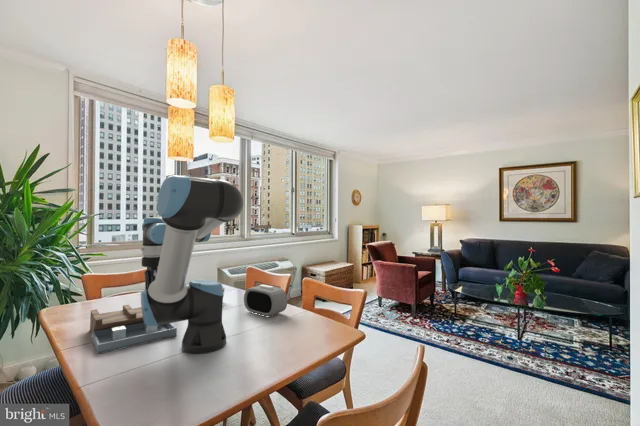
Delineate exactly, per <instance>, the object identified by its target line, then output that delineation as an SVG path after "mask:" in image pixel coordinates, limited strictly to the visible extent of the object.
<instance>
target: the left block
mask: <svg viewBox="0 0 640 426" xmlns="http://www.w3.org/2000/svg"><path fill="white" fill-rule="evenodd" d="M125 338H126V328H125V326H119V327H113V328H111V340H112V341H116V340H120V339H125Z"/></svg>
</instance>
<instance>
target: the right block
mask: <svg viewBox="0 0 640 426" xmlns="http://www.w3.org/2000/svg"><path fill="white" fill-rule="evenodd" d="M157 327H158V326H157V325H156V326H146V325H145V324H144V327H143V332H144V333H145V334H149V333H153V332H157Z"/></svg>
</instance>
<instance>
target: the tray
mask: <svg viewBox="0 0 640 426" xmlns="http://www.w3.org/2000/svg"><path fill="white" fill-rule="evenodd" d="M124 326H125V328H126V338H125V339H120V340H116V341H112V340H111V328H108V329H102V330H97V331H92V334H91V341H92V344H93V346H94V348H95V351H96V353H97V354H103V353H107V352H112V351H116V350H120V349H125V348H128V347H133V346H138V345H143V344H146V343H151V342H155V341H158V340H159V341H160V340H165V339H169V338H173V337H176V336H177V330H178V328H177V327H176V326H175V325H174V324H173V323H168V324H163V325H159V326H158V327H157V332H153V333H149V334H145V333H144V332H143V327H144V322H140V323H134V324H129V325H124ZM118 327H119V326H118Z"/></svg>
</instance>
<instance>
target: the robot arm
mask: <svg viewBox="0 0 640 426" xmlns="http://www.w3.org/2000/svg"><path fill="white" fill-rule="evenodd" d="M243 208H244V199H243V194H242V192H241V191H240V189H239V188H238V187H237V186H236V185H234V183H232V182H229V181H227V180H224V179H214V178H205V177H195V176H189V175H176V174H175V175H169V176H167V177H166V178H165V179H164V181H162V183H161V186H160V188H159V192H158V194H157V203H156V210H157V214H158V216H159V217H144V219H143V221H142V222H143V223H142V247H141V248H140V251H141V256H142V257H141V266H142V267H144V268H146V270H145V271H144V285H145V286H144V289H145V290H142V291H141V293H140V306H141V307H142V315H143V321H144V324H145V325H146V326H156V325H157V326H159V325H163V324H168V323H172V324H173V323H178V322H183V321H187V326H186V330H185V332H184V335H183V338H182V341H181V350H182V351H184V352H186V353H189V354H197V355H198V354H199V355H200V354H206V353H211V352H212V353H213V352H215V351H218V350H221V349H222V348H224V347H225V345H226V344H227V334H226V330H225V328H224V324H223V304H224V303H223V300H224V296H223V288H224V285H222V283H221V282H218V281H215V280H210V279H209V280H208V279H194V280H193V279H192V280H190V281H189V283H188V285H187V284H186V283H185V281H186V278H187V275H188V274H187V273H188V270H189V266H190V263H191V258H192V255H193V250H194V246H195V244H196V243H206V242H208V241H209V240H210V238H211V233H212V232H213V231H214V230H216V229H217V228H219V227H220V226H221V225H223V224H224V223H229V222H232V221H234V220H235V219H236V218H237V217H238V216H239V215H240V214H241V213H242V211H243Z"/></svg>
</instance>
